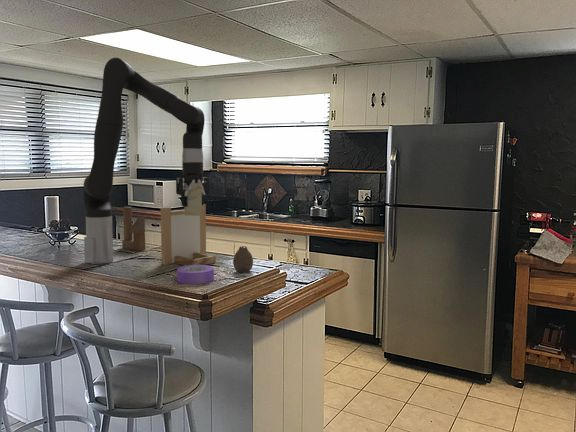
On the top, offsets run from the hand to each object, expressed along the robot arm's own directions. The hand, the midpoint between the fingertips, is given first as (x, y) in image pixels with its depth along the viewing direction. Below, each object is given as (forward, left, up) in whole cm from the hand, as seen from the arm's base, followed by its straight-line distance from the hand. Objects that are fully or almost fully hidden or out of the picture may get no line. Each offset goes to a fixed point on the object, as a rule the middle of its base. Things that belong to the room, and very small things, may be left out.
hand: (193, 205), depth 184 cm
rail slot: (0, -1, -21) cm, 22 cm away
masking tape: (-17, -21, -22) cm, 35 cm away
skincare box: (0, 0, -4) cm, 4 cm away
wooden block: (+2, +41, -22) cm, 47 cm away
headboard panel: (+1, +6, -21) cm, 22 cm away
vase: (+1, -25, -22) cm, 33 cm away
